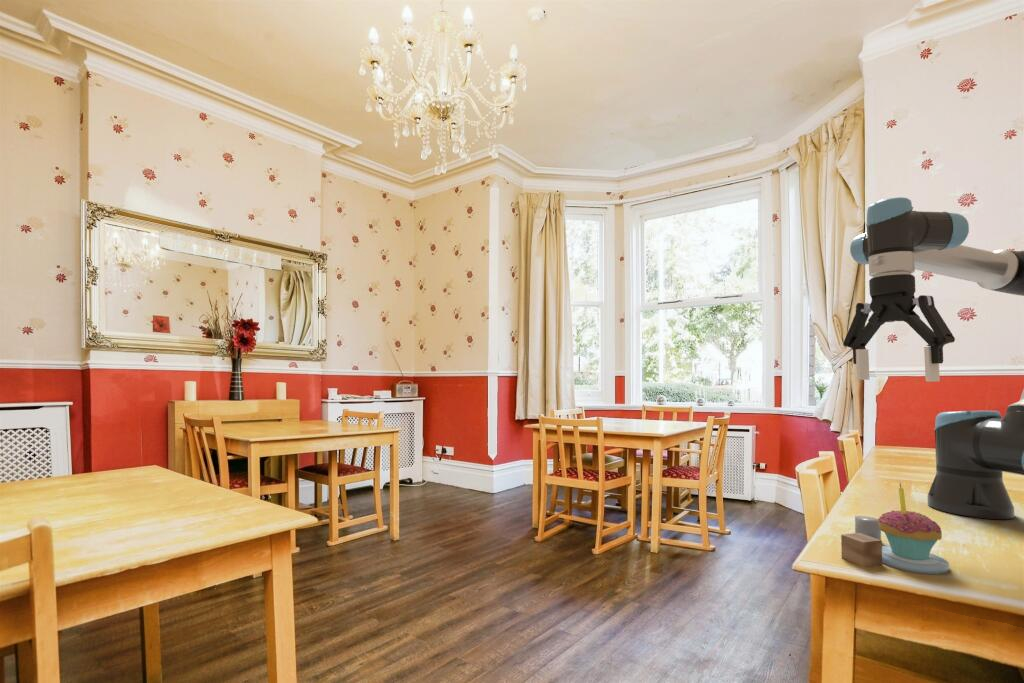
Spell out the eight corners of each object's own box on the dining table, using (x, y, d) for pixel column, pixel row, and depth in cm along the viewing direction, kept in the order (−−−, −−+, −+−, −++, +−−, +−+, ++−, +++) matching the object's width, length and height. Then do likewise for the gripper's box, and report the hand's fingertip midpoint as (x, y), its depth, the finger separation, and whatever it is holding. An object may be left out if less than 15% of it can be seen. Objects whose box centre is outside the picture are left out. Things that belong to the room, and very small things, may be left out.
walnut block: (859, 556, 89) (859, 532, 89) (882, 565, 85) (881, 540, 85) (841, 558, 88) (841, 534, 88) (863, 567, 84) (863, 542, 84)
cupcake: (922, 567, 81) (920, 489, 81) (866, 549, 88) (865, 478, 89) (953, 560, 84) (952, 485, 85) (897, 543, 92) (896, 475, 92)
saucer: (901, 549, 92) (901, 542, 92) (964, 571, 83) (964, 563, 83) (859, 554, 89) (858, 547, 89) (919, 577, 80) (919, 569, 80)
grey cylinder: (866, 536, 100) (865, 515, 100) (886, 543, 96) (886, 521, 96) (850, 537, 99) (849, 516, 99) (870, 544, 95) (869, 522, 95)
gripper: (822, 284, 116) (826, 379, 115) (947, 263, 92) (953, 382, 91) (847, 285, 118) (851, 378, 117) (975, 265, 94) (981, 381, 93)
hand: (895, 380), depth 104 cm, fingers open, 13 cm apart
